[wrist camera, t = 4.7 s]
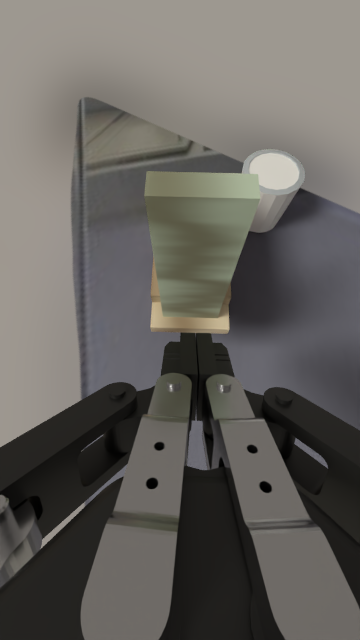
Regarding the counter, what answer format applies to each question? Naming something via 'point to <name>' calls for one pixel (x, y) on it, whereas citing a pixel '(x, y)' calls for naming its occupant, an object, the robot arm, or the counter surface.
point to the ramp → (196, 245)
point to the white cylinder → (273, 185)
